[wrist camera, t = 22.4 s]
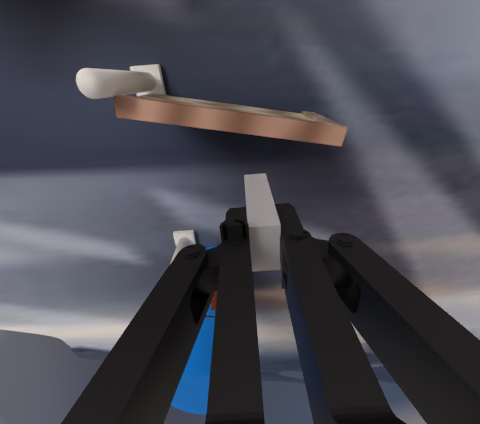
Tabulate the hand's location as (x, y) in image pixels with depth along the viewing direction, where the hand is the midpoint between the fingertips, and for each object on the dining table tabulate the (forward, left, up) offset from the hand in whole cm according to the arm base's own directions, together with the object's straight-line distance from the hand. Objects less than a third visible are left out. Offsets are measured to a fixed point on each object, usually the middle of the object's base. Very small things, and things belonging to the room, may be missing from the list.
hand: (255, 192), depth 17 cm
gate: (-3, -2, -23) cm, 23 cm away
